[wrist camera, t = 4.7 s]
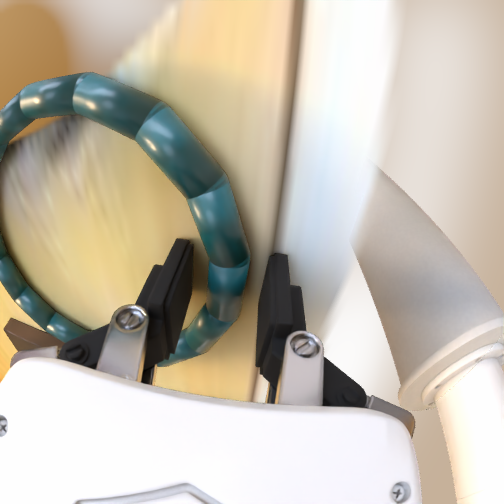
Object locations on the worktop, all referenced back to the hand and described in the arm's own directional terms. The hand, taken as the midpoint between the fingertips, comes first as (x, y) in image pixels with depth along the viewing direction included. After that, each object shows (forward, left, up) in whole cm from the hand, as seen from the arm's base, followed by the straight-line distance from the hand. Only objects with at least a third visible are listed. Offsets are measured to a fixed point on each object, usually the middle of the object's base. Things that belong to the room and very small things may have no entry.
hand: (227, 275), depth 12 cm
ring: (+7, 0, +1) cm, 8 cm away
